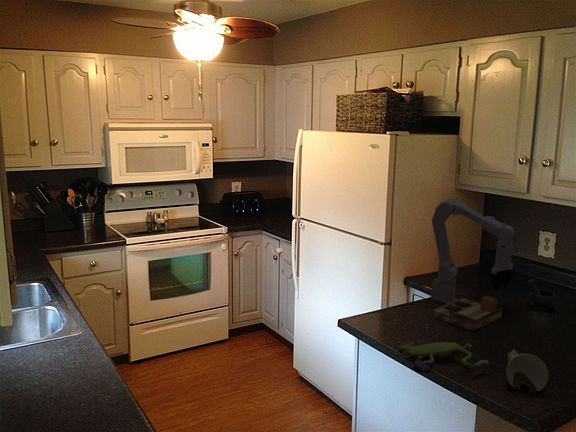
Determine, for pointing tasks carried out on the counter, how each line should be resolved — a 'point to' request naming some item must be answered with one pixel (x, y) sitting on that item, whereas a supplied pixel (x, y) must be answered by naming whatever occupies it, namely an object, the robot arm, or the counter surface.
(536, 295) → the mortar and pestle
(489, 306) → the block
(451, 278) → the robot arm
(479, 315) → the trap board
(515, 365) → the rocket engine
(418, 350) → the figurine
